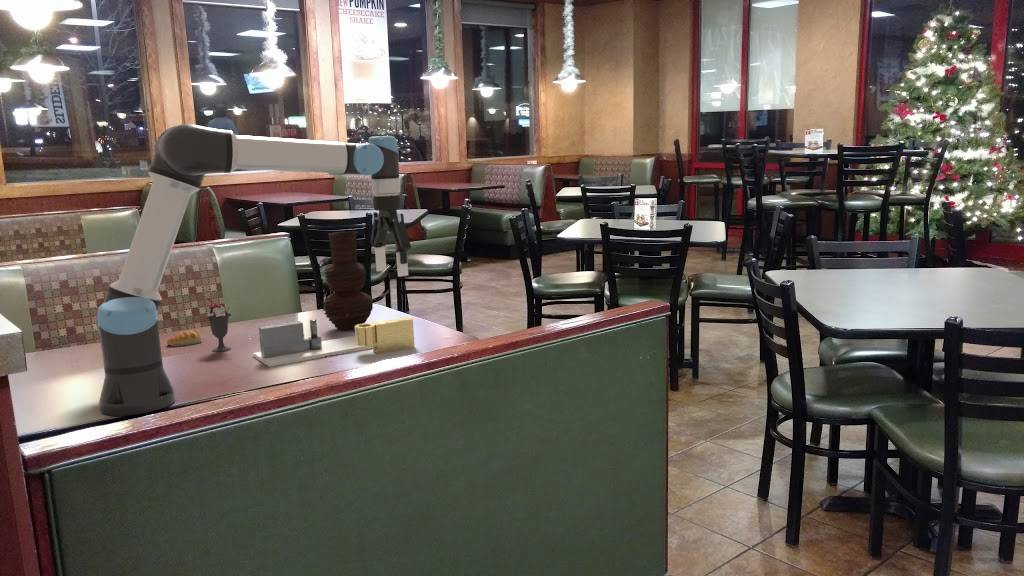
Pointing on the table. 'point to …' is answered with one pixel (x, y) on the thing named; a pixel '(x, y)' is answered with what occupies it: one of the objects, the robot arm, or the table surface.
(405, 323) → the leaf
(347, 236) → the vase
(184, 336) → the pastry
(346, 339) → the jig board
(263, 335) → the grey upright slab
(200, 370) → the table surface
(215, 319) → the sundae
